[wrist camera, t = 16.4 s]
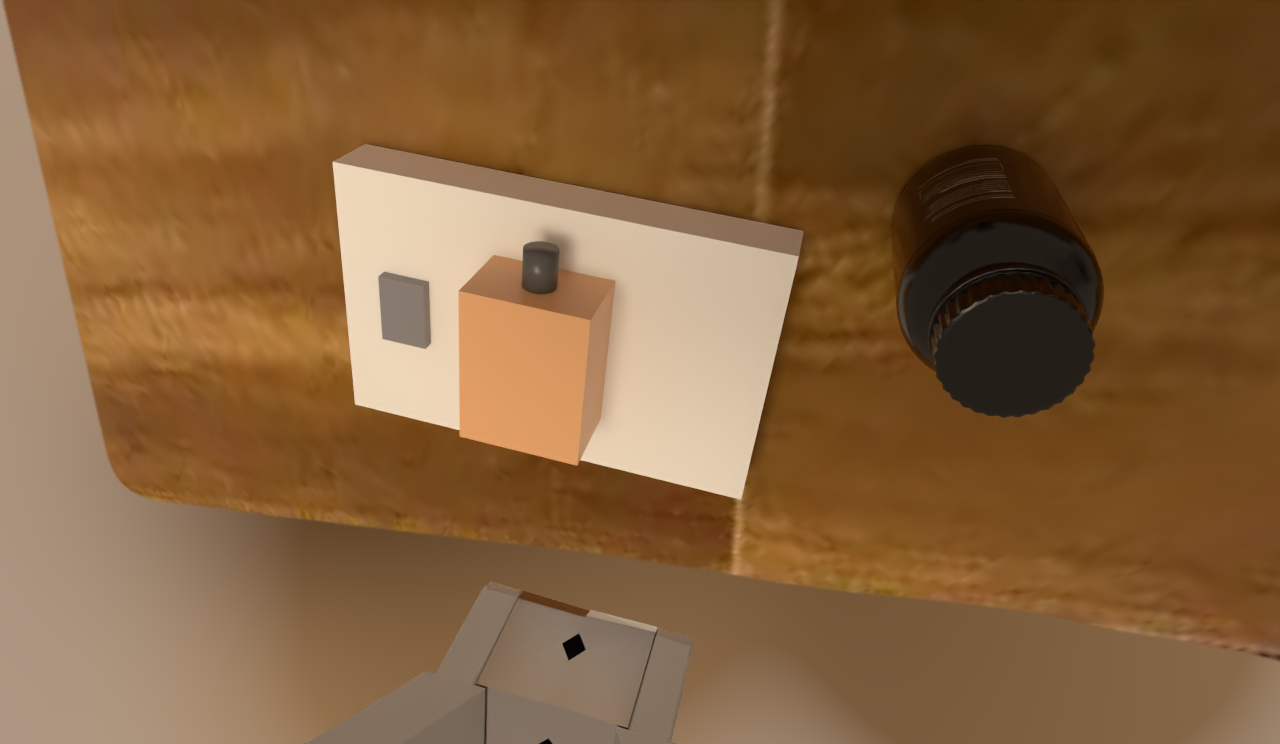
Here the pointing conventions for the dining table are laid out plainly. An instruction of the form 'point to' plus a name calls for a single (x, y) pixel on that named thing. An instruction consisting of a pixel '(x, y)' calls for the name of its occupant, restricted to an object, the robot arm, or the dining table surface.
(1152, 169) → the dining table surface
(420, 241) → the socket plate
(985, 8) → the dining table surface
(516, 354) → the plug
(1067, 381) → the supplement bottle
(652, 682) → the robot arm
